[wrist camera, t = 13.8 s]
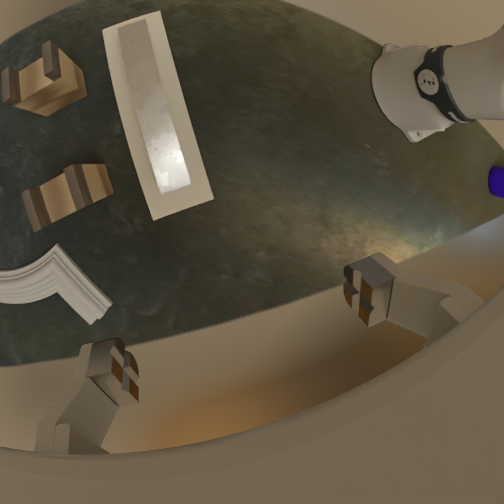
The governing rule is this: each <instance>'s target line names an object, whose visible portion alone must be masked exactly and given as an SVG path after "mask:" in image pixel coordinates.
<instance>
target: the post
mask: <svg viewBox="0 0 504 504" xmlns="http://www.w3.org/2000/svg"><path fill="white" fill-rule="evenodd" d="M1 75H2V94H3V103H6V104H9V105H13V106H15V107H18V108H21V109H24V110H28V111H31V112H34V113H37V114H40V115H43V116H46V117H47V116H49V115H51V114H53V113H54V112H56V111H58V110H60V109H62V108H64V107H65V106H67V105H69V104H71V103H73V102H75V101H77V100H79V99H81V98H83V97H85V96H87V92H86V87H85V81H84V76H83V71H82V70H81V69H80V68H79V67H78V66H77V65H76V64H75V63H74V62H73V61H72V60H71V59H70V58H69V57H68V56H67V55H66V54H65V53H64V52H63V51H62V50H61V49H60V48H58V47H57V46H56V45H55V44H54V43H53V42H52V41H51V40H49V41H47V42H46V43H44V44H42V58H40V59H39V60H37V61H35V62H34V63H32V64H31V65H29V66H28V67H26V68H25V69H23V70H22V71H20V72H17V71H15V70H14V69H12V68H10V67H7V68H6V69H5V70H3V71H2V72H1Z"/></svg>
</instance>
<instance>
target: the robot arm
mask: <svg viewBox="0 0 504 504" xmlns="http://www.w3.org/2000/svg"><path fill="white" fill-rule="evenodd" d="M372 85H373V90H374V94H375V97H376V99H377V102H378V104H379V106H380V108H381V109H382V111H383V113H384V114H385V115H386V117H387V118H388V119H389V120H390V121H391V122H392V123H393V124H394V125H396V126H397V127H398V128H400V129H401V130H402V131H403V132H404V134H405V135H406V137H407V138H408V140H409V141H410V142H412V143H413V142H418V141H420V140H422V139H423V138H425V137H427V136H429V135H431V134H433V133H435V132H437V131H444V130H445V128H448V127H449V126H451V125H452V124H453V123H455V122H460V123H468V122H473V121H475V120H476V119H487V120H504V24H503V26H502V27H501V28H500V29H499V30H498V31H497V32H496V33H494V34H493V35H491V36H489V37H487V38H484V39H482V40H478V41H475V42H471V43H467V44H463V45H458V46H451V45H445V46H443V45H442V46H437V47H435V48H431V49H430V48H428V47H427V46H424V45H422V44H421V43H417V44H412V45H408V46H404V47H399V46H396V45H394V44H391V43H388V44H385V45H384V46H383V50H382V55H381V56H380V57H379V58H378V60H377V61H376V62H375V64H374V66H373V70H372ZM344 277H345V278H346V279H347V280H346V282H345V284H344V285H343V289H344V296H345V299H346V301H347V303H348V305H349V306H350V307H351V308H352V309H354V310H357V311H359V313H358V316H359V318H360V319H361V320H362V321H363V322H364V324H365V325H366V326H367V327H371V326H373V325H375V324H377V323H379V322H381V321H384V320H386V319H387V320H388V321H390V322H392V323H395V324H397V325H399V326H402V327H404V328H406V329H409V330H411V331H413V332H416V333H418V334H420V335H422V336H425V337H427V338H428V339H427V341H426V344H425V347H424V349H423V350H421V351H420V352H418V353H417V354H415V355H414V356H412V357H410V358H409V359H407V360H405V361H404V362H402V363H400V364H399V365H397V366H396V367H394V368H392V369H390V370H389V371H387V372H385V373H383V374H381V375H380V376H378V377H376V378H374V379H372V380H370V381H368V382H366V383H365V384H363V385H361V386H359V387H357V388H355V389H353V390H351V391H349V392H346V393H344V394H342V395H340V396H338V397H336V398H334V399H331V400H329V401H327V402H324V403H322V404H320V405H317V406H315V407H313V408H310V409H308V410H305V411H303V412H300V413H297V414H295V415H292V416H289V417H287V418H284V419H281V420H278V421H275V422H272V423H270V424H266V425H263V426H260V427H257V428H254V429H250V430H247V431H243V432H240V433H236V434H232V435H229V436H225V437H221V438H217V439H213V440H208V441H203V442H199V443H194V444H189V445H183V446H178V447H172V448H165V449H158V450H150V451H141V452H131V453H118V454H110V453H109V452H107V451H106V450H104V449H102V448H101V447H100V446H101V444H102V442H103V440H104V437H105V435H106V433H107V431H108V429H109V427H110V425H111V423H112V421H113V419H114V417H115V415H116V413H117V411H118V409H119V406H124V405H129V404H134V403H139V387H138V386H137V385H136V384H135V382H136V381H137V379H138V378H139V370H138V366H137V362H136V360H135V358H134V357H133V355H132V354H131V353H130V352H128V351H126V350H125V344H124V342H123V341H122V340H121V338H118V337H116V338H112V339H107V340H103V341H98V342H94V343H90V344H85V345H83V346H82V347H81V350H80V354H79V358H78V363H77V367H76V372H75V377H74V380H70V382H69V383H68V384H67V386H66V387H65V388H64V390H63V391H62V392H61V393H60V395H59V396H58V397H57V399H56V400H55V401H54V403H53V404H52V405H51V406H50V408H49V409H48V410H47V412H46V413H45V415H44V416H43V417H42V419H41V420H40V421H39V423H38V428H37V435H36V442H35V449H34V452H33V451H25V450H18V449H11V448H6V447H0V504H504V285H503V286H502V287H501V288H500V289H499V290H498V291H497V292H496V293H495V294H494V295H493V296H492V297H490V298H489V299H488V300H487V301H486V302H484V301H483V300H482V299H481V298H480V297H478V296H477V295H476V294H475V293H474V292H472V291H471V290H470V289H469V288H467V287H466V286H465V285H463V284H459V283H455V282H451V281H447V280H443V279H439V278H434V277H430V276H426V275H422V274H418V273H414V272H409V273H407V272H405V271H404V270H403V269H402V268H400V267H399V266H398V265H397V264H395V263H394V262H393V261H392V260H390V259H389V258H388V257H386V256H385V255H384V254H383V253H379V252H378V253H376V254H373V255H371V256H368V257H367V258H364V259H362V260H359V261H356V262H354V263H351V264H349V265H346V266H345V267H344Z"/></svg>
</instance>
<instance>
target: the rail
mask: <svg viewBox="0 0 504 504" xmlns="http://www.w3.org/2000/svg"><path fill="white" fill-rule="evenodd" d="M117 30H118V35H119V40H120V45H121V50H122V55H123V60H124V64H125V69H126V73H127V77H128V81H129V86H130V90H131V94H132V98H133V101H134V105H135V109H136V113H137V117H138V120H139V124H140V127H141V131H142V134H143V138H144V141H145V145H146V148H147V151H148V155H149V158H150V161H151V164H152V168H153V171H154V174H155V177H156V180H157V183H158V186H159V189H160V192H161V194H163V193H166V192H169V191H171V190H174V189H177V188H180V187H183V186H185V185H188V184H191V181H190V178H189V175H188V172H187V168H186V165H185V162H184V159H183V155H182V152H181V149H180V145H179V142H178V139H177V135H176V132H175V128H174V125H173V122H172V118H171V115H170V111H169V108H168V104H167V100H166V97H165V93H164V90H163V86H162V82H161V78H160V75H159V71H158V67H157V63H156V59H155V56H154V52H153V48H152V44H151V40H150V35H149V31H148V27H147V23H146V19H143V20H139V21H136V22H133V23H130V24H127V25H124V26H122V27H119V28H117Z"/></svg>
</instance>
